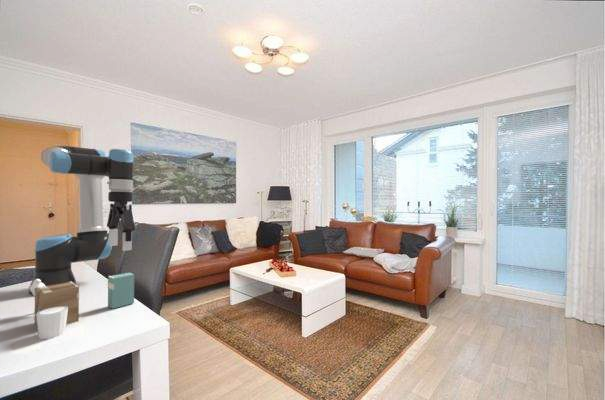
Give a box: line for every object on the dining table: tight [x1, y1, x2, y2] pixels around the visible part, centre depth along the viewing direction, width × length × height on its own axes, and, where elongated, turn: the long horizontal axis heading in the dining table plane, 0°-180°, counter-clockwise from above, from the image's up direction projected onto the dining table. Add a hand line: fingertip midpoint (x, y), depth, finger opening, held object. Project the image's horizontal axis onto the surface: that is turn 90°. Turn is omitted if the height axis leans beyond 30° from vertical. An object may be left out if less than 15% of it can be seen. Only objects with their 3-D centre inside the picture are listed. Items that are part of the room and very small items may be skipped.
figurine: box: [29, 279, 45, 317], centre depth 92 cm, size 7×4×12 cm, turn 45°
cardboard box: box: [34, 281, 80, 329], centre depth 86 cm, size 9×9×11 cm
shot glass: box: [36, 306, 68, 340], centre depth 79 cm, size 7×7×7 cm
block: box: [107, 272, 135, 309], centre depth 101 cm, size 5×7×11 cm, turn 142°
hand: (119, 248), depth 102 cm, fingers open, 13 cm apart
